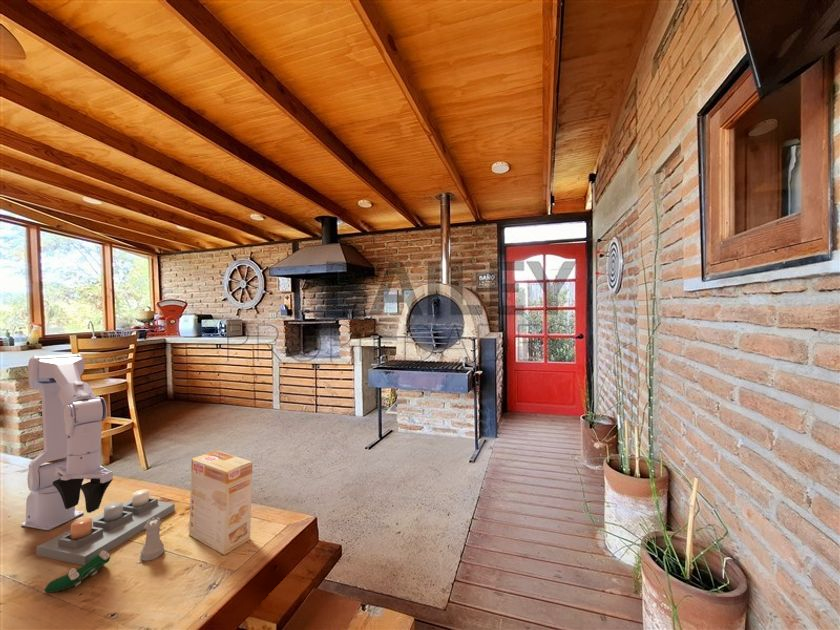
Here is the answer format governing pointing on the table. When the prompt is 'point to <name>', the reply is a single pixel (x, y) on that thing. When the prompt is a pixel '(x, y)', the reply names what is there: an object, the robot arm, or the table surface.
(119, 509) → the button light grey
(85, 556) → the panel
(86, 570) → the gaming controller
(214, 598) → the table surface
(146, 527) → the rook chess piece
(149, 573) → the table surface
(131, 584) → the table surface
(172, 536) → the table surface
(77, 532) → the button terracotta
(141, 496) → the button ivory
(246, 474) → the coffeecake box
